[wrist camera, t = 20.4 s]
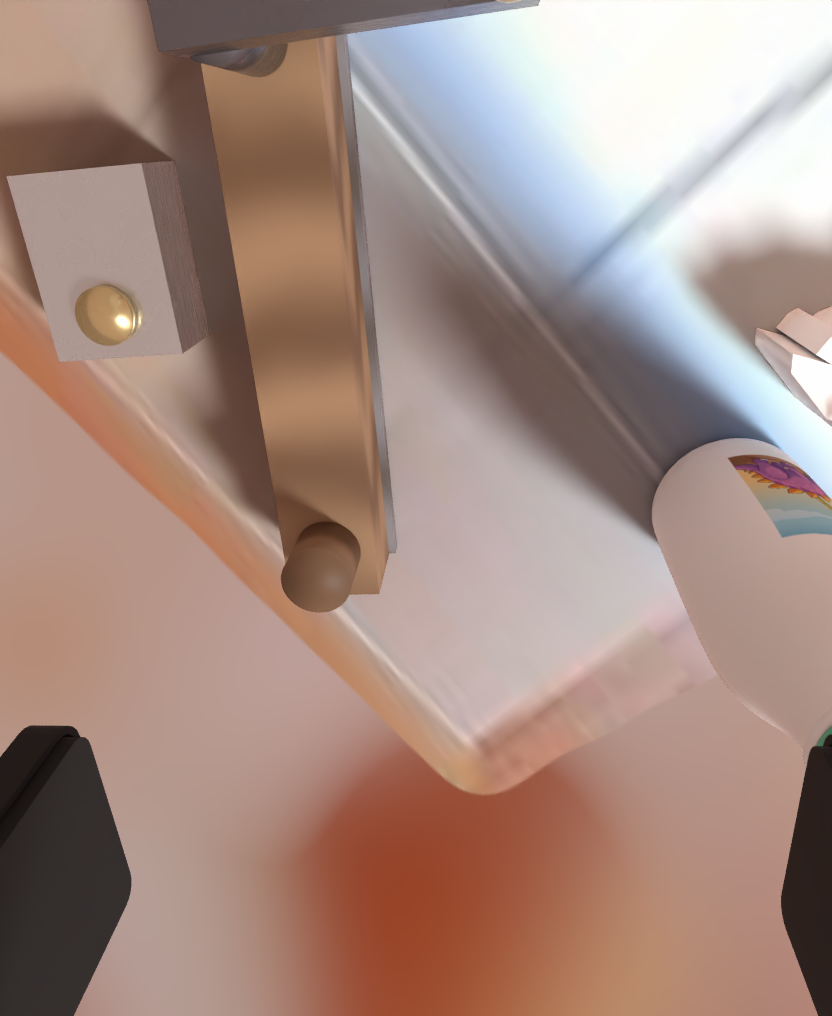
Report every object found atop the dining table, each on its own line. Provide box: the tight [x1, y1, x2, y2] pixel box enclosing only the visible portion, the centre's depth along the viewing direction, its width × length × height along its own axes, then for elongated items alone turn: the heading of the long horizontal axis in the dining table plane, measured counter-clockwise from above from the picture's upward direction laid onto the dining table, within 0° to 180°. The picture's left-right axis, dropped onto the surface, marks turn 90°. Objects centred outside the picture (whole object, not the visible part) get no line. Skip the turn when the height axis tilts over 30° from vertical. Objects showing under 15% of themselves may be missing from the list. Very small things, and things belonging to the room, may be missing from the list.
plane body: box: [201, 34, 397, 612], centre depth 34 cm, size 26×5×8 cm, turn 4°
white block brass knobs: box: [6, 161, 209, 362], centre depth 36 cm, size 8×6×5 cm
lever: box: [147, 0, 540, 77], centre depth 24 cm, size 11×2×8 cm, turn 97°
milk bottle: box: [652, 438, 832, 767], centre depth 31 cm, size 8×8×20 cm
